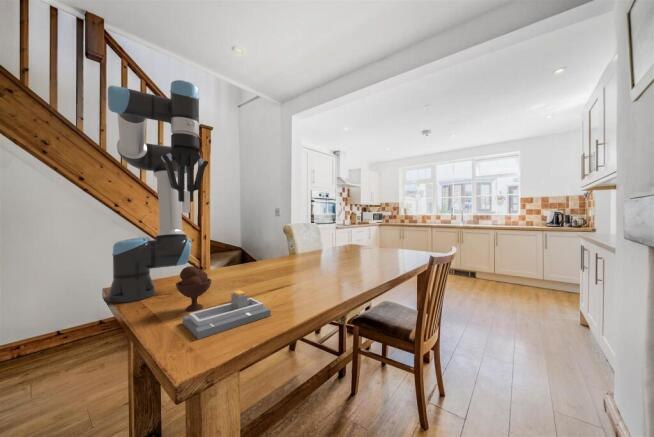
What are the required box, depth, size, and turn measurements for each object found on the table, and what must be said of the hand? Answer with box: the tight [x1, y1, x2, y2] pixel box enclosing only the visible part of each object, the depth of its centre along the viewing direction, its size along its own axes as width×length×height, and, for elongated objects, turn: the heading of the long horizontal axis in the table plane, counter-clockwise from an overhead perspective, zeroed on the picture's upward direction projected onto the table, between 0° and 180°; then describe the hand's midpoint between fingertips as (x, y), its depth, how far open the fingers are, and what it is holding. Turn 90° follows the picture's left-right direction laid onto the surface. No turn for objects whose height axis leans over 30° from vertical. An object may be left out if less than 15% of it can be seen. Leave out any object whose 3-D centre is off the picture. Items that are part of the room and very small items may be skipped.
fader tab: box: [230, 289, 248, 310], centre depth 82 cm, size 5×3×6 cm, turn 45°
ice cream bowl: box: [175, 265, 212, 313], centre depth 89 cm, size 11×11×15 cm
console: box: [182, 297, 272, 340], centre depth 79 cm, size 14×22×4 cm, turn 135°
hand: (185, 212), depth 78 cm, fingers closed
